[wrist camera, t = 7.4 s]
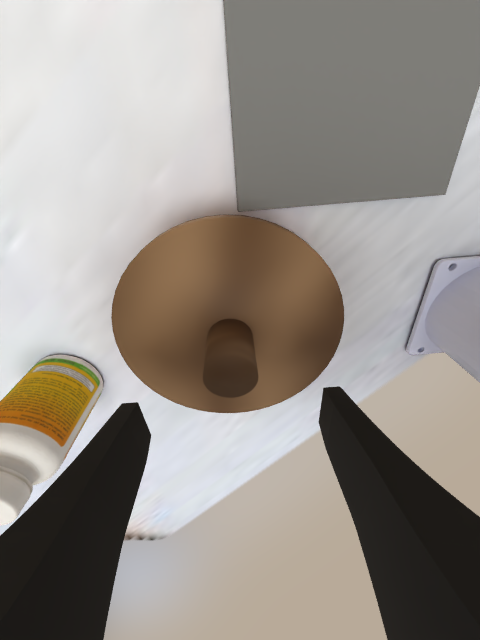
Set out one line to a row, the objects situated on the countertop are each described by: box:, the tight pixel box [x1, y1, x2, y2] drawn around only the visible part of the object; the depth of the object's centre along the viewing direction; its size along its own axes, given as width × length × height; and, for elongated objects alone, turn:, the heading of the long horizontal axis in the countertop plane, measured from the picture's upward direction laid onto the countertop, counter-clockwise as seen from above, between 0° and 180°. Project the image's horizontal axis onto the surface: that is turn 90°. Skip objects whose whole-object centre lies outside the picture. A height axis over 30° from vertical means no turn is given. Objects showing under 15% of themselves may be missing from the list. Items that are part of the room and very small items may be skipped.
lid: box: [112, 215, 344, 413], centre depth 13 cm, size 12×12×4 cm
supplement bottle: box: [0, 355, 103, 525], centre depth 17 cm, size 5×5×10 cm
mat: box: [223, 0, 480, 212], centre depth 12 cm, size 12×12×1 cm
